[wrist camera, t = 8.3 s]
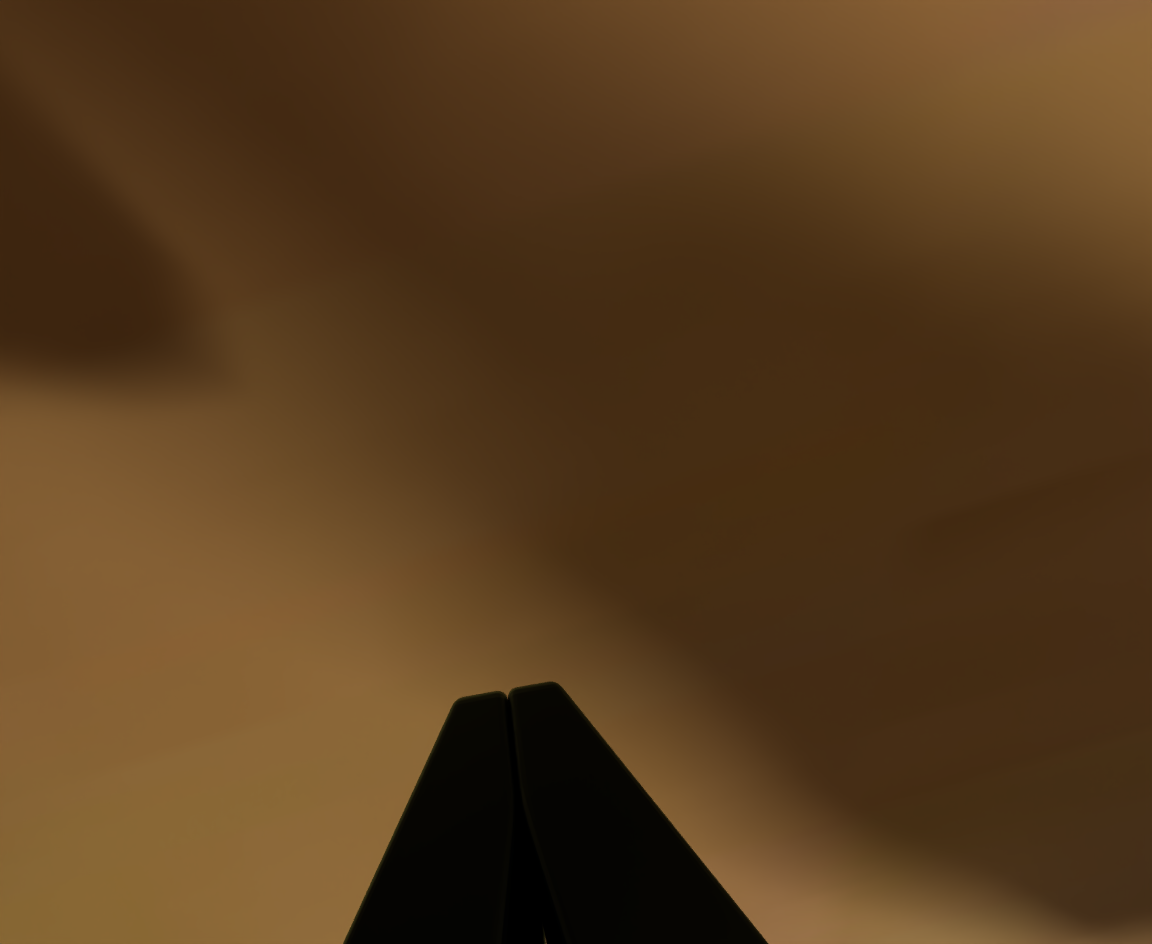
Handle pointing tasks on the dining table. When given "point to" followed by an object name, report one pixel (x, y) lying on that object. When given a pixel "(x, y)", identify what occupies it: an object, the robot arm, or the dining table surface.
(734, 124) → the dining table surface
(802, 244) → the dining table surface
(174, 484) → the dining table surface
